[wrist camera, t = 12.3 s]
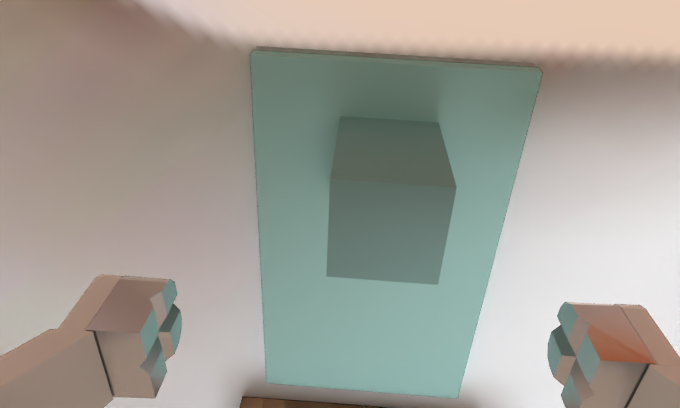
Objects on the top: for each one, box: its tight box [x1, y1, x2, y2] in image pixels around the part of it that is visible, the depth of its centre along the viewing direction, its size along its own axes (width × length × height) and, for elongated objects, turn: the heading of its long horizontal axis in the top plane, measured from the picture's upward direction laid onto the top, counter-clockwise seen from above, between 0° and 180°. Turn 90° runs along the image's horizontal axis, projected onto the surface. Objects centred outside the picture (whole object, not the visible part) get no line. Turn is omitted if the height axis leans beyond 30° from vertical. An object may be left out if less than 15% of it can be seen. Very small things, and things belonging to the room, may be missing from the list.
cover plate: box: [250, 50, 543, 399], centre depth 17 cm, size 8×14×5 cm, turn 178°
